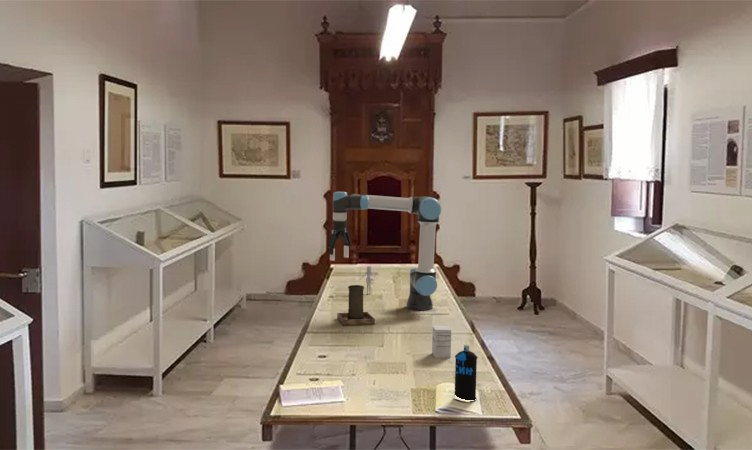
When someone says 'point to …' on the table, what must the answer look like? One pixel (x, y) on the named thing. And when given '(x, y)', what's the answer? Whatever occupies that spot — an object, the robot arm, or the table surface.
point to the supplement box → (441, 342)
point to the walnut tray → (345, 322)
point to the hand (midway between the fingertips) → (339, 259)
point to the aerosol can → (465, 374)
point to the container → (355, 302)
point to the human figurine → (368, 278)
